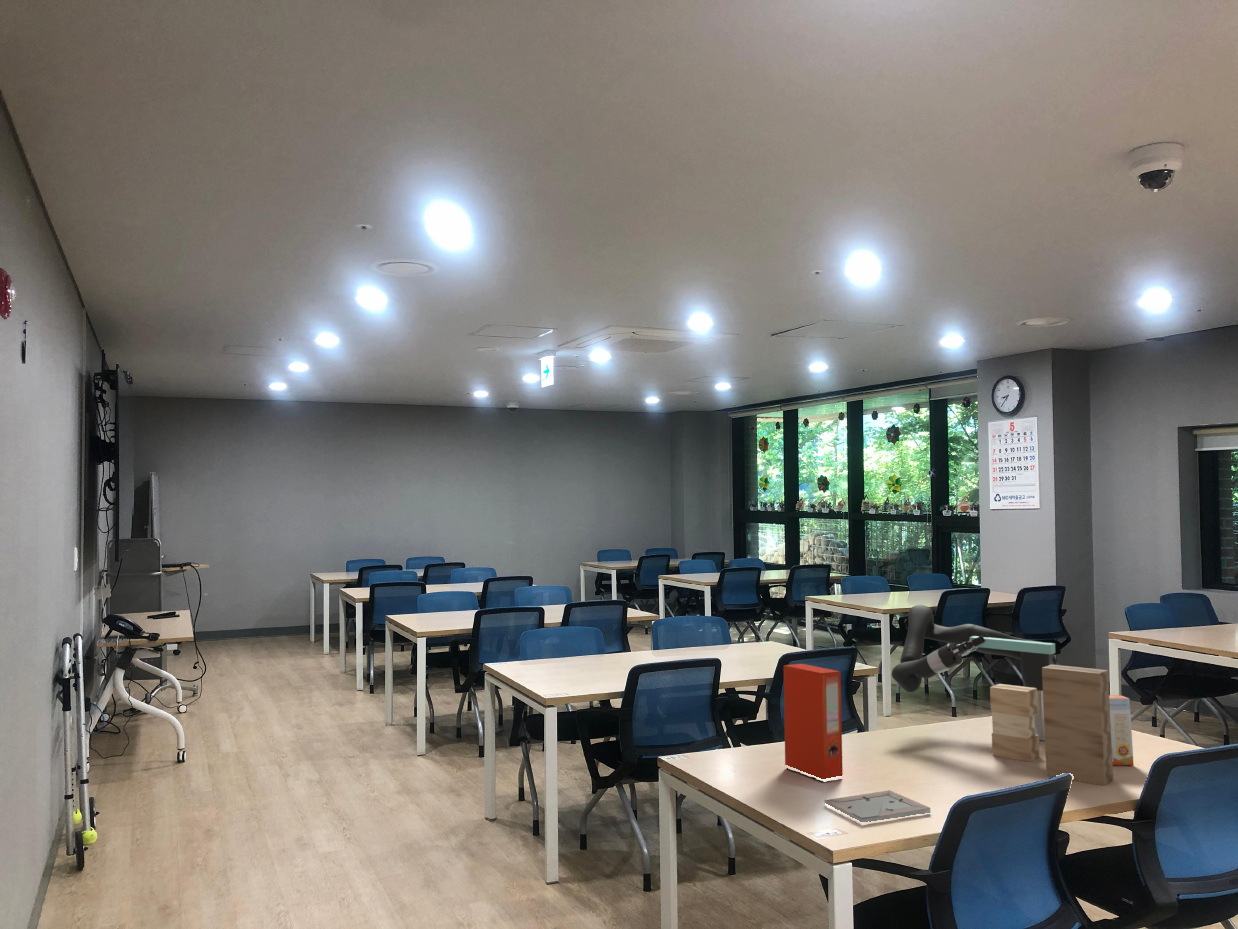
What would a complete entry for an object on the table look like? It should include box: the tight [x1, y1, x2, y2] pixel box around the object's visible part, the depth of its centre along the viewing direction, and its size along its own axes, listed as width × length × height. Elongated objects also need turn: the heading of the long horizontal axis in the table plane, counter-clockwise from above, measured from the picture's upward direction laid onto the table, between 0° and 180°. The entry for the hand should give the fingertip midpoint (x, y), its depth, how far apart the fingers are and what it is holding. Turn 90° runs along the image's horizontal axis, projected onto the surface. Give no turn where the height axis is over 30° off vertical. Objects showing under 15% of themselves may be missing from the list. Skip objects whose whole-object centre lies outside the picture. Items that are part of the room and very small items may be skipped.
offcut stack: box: [989, 683, 1041, 763], centre depth 288 cm, size 8×12×22 cm
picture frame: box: [824, 790, 932, 822], centre depth 235 cm, size 16×2×22 cm
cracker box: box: [1109, 694, 1134, 766], centre depth 278 cm, size 14×6×21 cm, turn 84°
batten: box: [970, 636, 1056, 655], centre depth 290 cm, size 4×26×3 cm, turn 45°
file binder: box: [783, 663, 844, 779], centre depth 271 cm, size 8×17×32 cm, turn 29°
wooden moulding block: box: [1042, 664, 1114, 787], centre depth 264 cm, size 8×16×32 cm, turn 45°
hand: (986, 637), depth 296 cm, fingers closed on batten, 4 cm apart
